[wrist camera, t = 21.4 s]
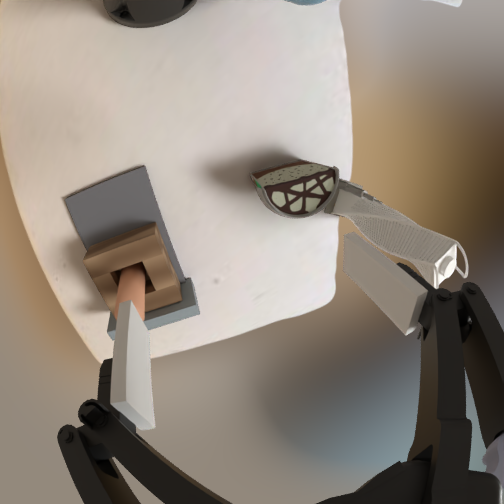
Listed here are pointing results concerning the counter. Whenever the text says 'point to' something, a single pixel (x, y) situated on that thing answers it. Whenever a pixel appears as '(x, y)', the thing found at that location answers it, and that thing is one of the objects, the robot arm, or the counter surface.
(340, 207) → the skyscraper
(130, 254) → the block
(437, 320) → the robot arm
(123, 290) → the dowel
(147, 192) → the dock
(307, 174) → the food container
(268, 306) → the counter surface
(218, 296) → the counter surface
